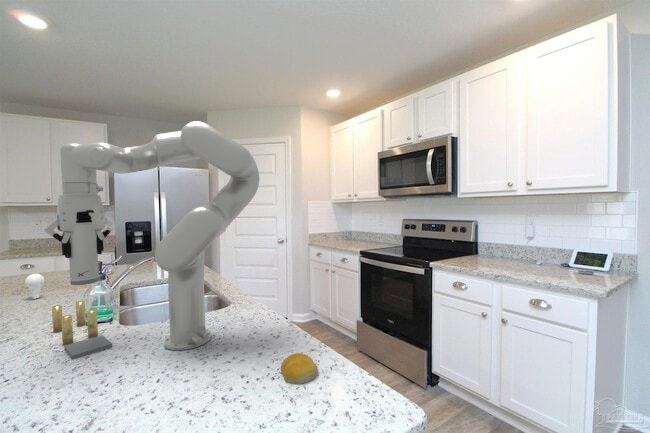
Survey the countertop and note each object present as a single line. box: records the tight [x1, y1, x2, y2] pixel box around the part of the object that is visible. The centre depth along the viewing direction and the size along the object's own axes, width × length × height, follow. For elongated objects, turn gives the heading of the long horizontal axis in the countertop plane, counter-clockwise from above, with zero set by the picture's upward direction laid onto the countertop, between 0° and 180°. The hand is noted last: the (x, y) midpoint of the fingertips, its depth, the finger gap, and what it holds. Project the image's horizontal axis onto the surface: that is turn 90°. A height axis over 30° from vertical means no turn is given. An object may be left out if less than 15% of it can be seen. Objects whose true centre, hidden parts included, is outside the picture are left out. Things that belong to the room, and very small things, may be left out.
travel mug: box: [68, 210, 100, 286], centre depth 87 cm, size 6×7×20 cm
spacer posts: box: [51, 300, 99, 346], centre depth 98 cm, size 16×8×8 cm, turn 49°
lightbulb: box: [24, 273, 45, 300], centre depth 136 cm, size 6×6×11 cm
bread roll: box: [280, 352, 319, 385], centre depth 73 cm, size 8×9×4 cm
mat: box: [63, 334, 113, 360], centre depth 88 cm, size 9×9×1 cm
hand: (83, 255), depth 87 cm, fingers closed on travel mug, 6 cm apart
